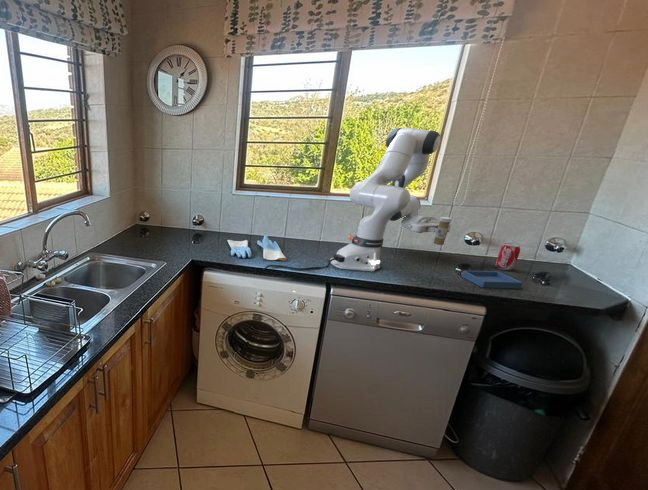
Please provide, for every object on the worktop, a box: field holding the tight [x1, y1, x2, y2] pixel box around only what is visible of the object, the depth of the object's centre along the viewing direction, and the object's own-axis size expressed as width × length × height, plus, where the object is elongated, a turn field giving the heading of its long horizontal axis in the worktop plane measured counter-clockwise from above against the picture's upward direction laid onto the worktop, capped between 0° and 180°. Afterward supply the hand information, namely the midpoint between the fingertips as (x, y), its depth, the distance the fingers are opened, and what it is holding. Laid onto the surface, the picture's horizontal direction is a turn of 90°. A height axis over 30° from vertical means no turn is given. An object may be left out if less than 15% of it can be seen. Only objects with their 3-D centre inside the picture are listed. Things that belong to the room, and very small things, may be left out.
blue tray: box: [460, 270, 523, 290], centre depth 176 cm, size 16×14×3 cm
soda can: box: [494, 242, 521, 271], centre depth 191 cm, size 7×7×12 cm
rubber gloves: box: [227, 234, 288, 261], centre depth 216 cm, size 27×33×6 cm
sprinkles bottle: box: [433, 216, 452, 246], centre depth 199 cm, size 5×5×13 cm
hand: (444, 230), depth 198 cm, fingers closed on sprinkles bottle, 4 cm apart
